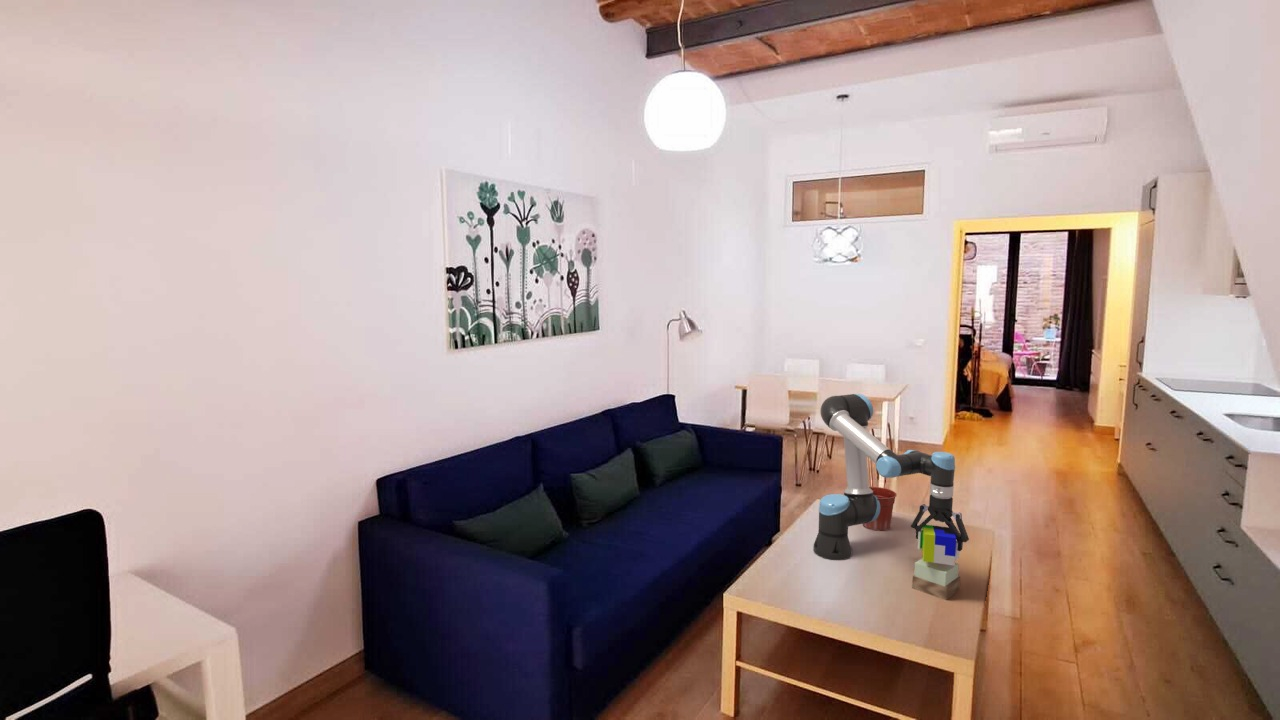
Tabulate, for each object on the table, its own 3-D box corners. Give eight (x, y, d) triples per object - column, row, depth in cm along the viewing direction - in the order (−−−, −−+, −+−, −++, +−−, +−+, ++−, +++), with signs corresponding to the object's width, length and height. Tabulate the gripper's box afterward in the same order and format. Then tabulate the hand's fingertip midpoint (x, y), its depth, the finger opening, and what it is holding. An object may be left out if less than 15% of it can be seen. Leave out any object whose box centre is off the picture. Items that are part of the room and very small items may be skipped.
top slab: (914, 576, 230) (914, 562, 229) (927, 567, 237) (928, 554, 237) (945, 586, 222) (945, 573, 221) (957, 577, 229) (958, 563, 228)
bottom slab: (911, 589, 230) (912, 576, 230) (925, 578, 239) (926, 566, 238) (945, 601, 222) (946, 587, 221) (959, 590, 230) (960, 576, 229)
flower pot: (860, 531, 283) (861, 497, 281) (854, 518, 299) (855, 485, 298) (898, 534, 281) (900, 499, 279) (890, 520, 297) (892, 487, 295)
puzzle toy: (954, 565, 221) (956, 538, 220) (923, 561, 224) (924, 534, 223) (951, 554, 230) (953, 527, 229) (921, 550, 234) (922, 524, 232)
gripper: (903, 490, 232) (900, 546, 235) (973, 506, 215) (969, 567, 217) (911, 485, 238) (908, 540, 240) (981, 501, 220) (977, 560, 223)
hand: (937, 553), depth 229 cm, fingers closed on puzzle toy, 12 cm apart
